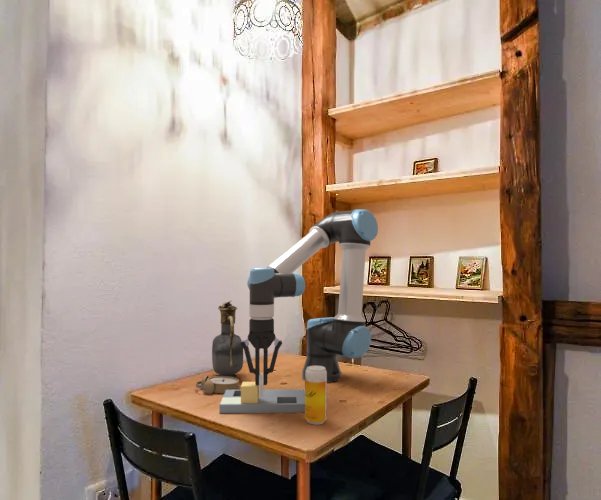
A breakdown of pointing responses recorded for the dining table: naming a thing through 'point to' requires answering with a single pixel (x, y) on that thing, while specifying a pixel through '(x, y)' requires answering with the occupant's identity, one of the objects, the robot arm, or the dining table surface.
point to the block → (249, 392)
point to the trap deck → (265, 402)
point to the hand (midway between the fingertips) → (261, 395)
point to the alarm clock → (218, 384)
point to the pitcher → (227, 345)
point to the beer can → (315, 394)
